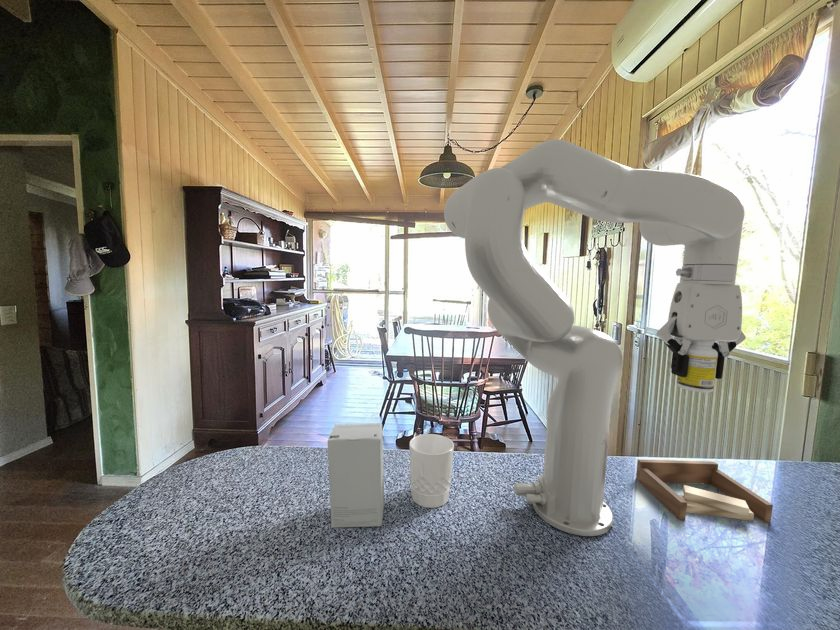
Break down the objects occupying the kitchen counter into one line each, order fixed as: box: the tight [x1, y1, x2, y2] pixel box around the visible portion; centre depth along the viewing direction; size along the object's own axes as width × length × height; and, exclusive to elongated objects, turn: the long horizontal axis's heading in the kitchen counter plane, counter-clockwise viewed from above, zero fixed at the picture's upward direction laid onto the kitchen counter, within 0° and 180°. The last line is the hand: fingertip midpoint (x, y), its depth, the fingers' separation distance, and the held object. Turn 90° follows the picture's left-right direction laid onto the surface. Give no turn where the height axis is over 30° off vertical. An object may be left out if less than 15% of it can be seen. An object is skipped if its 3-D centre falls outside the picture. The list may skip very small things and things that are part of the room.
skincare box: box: [327, 422, 385, 529], centre depth 57 cm, size 8×6×15 cm
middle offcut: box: [678, 494, 755, 522], centre depth 61 cm, size 10×3×1 cm, turn 79°
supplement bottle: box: [676, 340, 718, 394], centre depth 65 cm, size 5×5×10 cm
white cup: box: [408, 433, 455, 509], centre depth 64 cm, size 8×8×10 cm
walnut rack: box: [635, 459, 774, 524], centre depth 64 cm, size 15×12×4 cm
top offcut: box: [682, 484, 749, 517], centre depth 61 cm, size 8×3×1 cm, turn 58°
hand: (695, 375), depth 65 cm, fingers closed on supplement bottle, 5 cm apart
